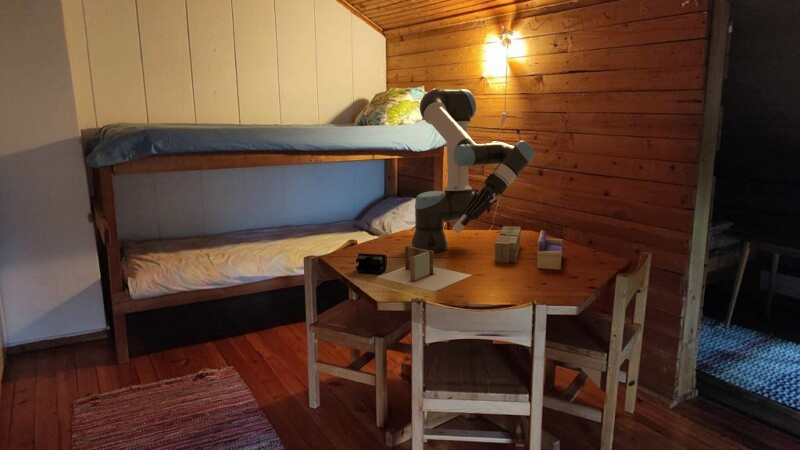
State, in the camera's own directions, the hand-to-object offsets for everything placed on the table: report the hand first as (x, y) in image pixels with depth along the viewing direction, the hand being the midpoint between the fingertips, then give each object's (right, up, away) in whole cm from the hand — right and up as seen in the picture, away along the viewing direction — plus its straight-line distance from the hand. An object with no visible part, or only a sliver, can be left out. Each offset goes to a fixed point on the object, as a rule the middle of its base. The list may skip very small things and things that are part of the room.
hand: (455, 231), depth 194 cm
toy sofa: (+38, -12, +21) cm, 45 cm away
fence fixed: (-12, -15, +8) cm, 21 cm away
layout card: (-10, -16, +3) cm, 19 cm away
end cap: (-29, -15, +10) cm, 34 cm away
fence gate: (-12, -16, 0) cm, 20 cm away
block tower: (+25, -10, +34) cm, 43 cm away
